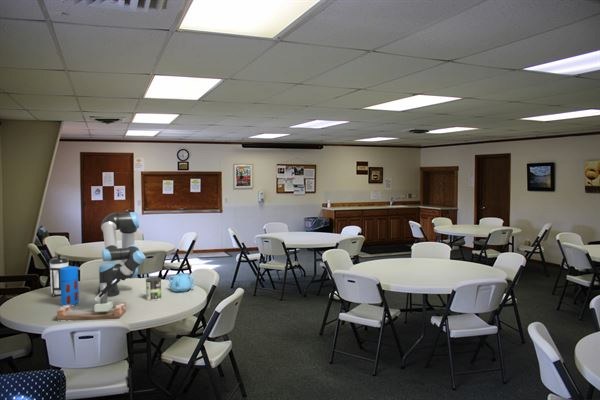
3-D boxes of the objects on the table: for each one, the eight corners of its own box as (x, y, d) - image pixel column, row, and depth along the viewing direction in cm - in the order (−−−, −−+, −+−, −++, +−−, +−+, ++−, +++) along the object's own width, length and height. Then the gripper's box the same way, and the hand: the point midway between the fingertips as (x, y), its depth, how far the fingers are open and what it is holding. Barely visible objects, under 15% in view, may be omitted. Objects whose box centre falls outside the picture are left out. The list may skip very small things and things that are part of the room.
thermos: (82, 302, 313) (81, 266, 312) (70, 307, 303) (68, 269, 301) (70, 301, 316) (68, 266, 315) (57, 305, 306) (56, 269, 305)
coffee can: (164, 297, 326) (163, 277, 325) (156, 301, 316) (156, 280, 315) (151, 296, 328) (150, 277, 327) (143, 300, 318) (142, 280, 317)
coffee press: (42, 296, 331) (41, 255, 329) (61, 291, 345) (60, 252, 344) (60, 298, 324) (58, 257, 323) (78, 293, 339) (77, 253, 337)
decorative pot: (196, 291, 342) (195, 273, 342) (175, 294, 333) (175, 276, 332) (187, 287, 355) (187, 269, 355) (167, 290, 346) (166, 272, 345)
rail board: (65, 314, 287) (64, 303, 287) (127, 311, 291) (127, 301, 291) (55, 321, 273) (55, 310, 273) (121, 318, 277) (120, 307, 277)
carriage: (100, 307, 287) (99, 281, 286) (113, 306, 288) (112, 281, 287) (94, 311, 277) (93, 285, 276) (108, 311, 278) (107, 285, 277)
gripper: (124, 279, 275) (97, 307, 274) (132, 273, 291) (106, 299, 291) (115, 270, 274) (87, 298, 273) (123, 265, 291) (97, 291, 290)
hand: (97, 299), depth 282 cm, fingers closed on carriage, 4 cm apart
